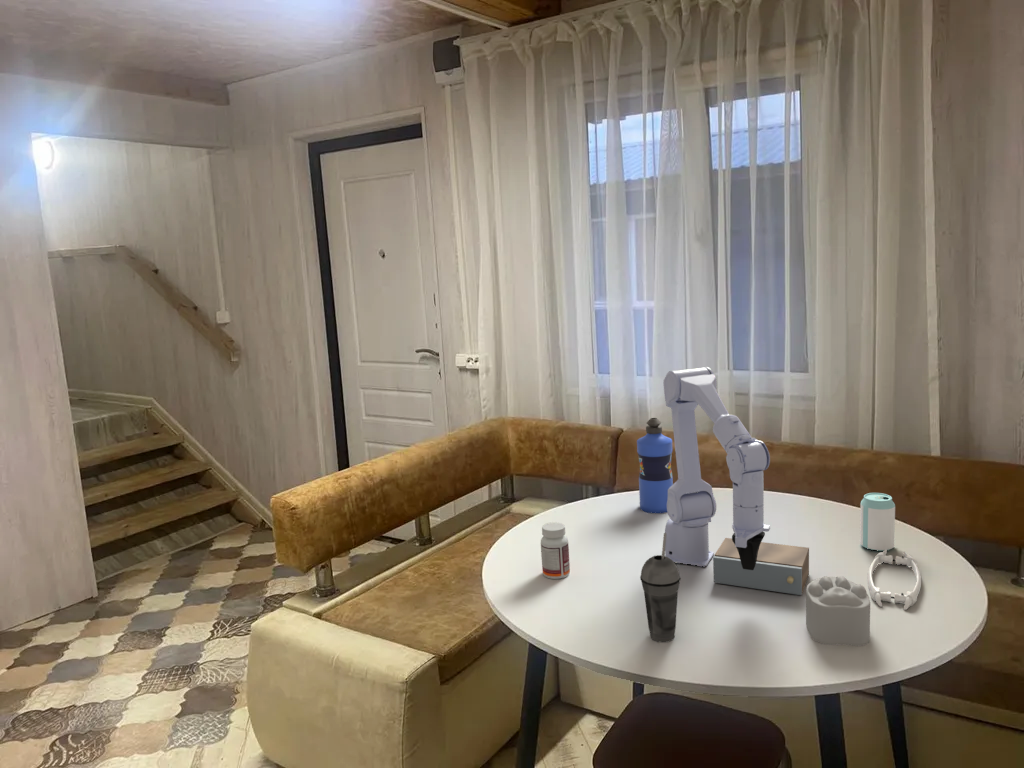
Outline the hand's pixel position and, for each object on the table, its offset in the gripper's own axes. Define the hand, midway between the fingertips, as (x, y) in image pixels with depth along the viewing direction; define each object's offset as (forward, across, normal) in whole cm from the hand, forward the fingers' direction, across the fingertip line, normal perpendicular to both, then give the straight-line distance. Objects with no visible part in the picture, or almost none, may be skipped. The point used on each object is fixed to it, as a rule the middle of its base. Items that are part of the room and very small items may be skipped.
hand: (748, 568), depth 153 cm
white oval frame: (+8, +19, -25) cm, 33 cm away
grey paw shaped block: (+7, -5, -17) cm, 19 cm away
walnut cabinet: (+7, +12, 0) cm, 14 cm away
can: (+7, +37, -21) cm, 43 cm away
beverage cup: (+7, -19, +12) cm, 24 cm away
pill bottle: (+8, -1, +42) cm, 43 cm away
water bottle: (+8, +47, +34) cm, 58 cm away
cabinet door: (+7, +6, 0) cm, 9 cm away
